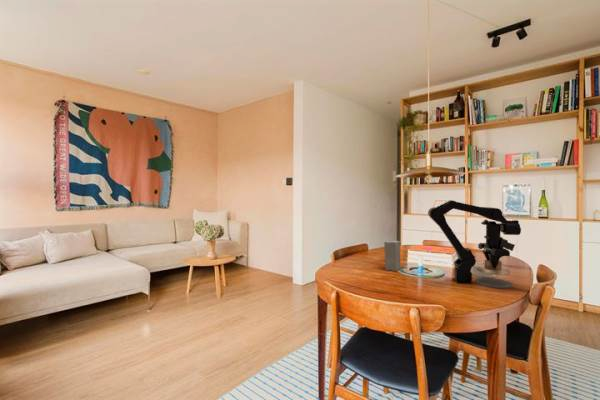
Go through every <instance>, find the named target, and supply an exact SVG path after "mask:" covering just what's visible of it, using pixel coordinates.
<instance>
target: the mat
mask: <svg viewBox="0 0 600 400" xmlns="http://www.w3.org/2000/svg"><path fill="white" fill-rule="evenodd" d="M474 283H475V284H478V285H480V286H484V287H488V288H492V289H493V288H494V289H510V288H511V289H512V287H513V283H512V282H511V281H509V280H506V279H502V278H497V277H480V276H477V277H475V278H474Z"/></svg>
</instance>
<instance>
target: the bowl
mask: <svg viewBox="0 0 600 400" xmlns="http://www.w3.org/2000/svg"><path fill="white" fill-rule="evenodd" d="M481 265H485V261H484V262H482V261H481V262H480V261H479V262H477V261H476V263H475V265H474V266H473V267H472V268H471V273H472V276H477V277H491V278H496V277H498V275H494V274H487V273H483V272H480V271H478V270H477V267H478V266H481Z"/></svg>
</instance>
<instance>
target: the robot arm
mask: <svg viewBox="0 0 600 400" xmlns="http://www.w3.org/2000/svg"><path fill="white" fill-rule="evenodd" d="M451 210H457V211H462V212H467V213H471V214H475V215H478V216H481V217H483V218H484V220H482V222H481V225H483V226H485V235H484V236H483V238H484V239H485V242H479V243H478V244H477V247H478V249H479V250H481V252H482V253H483V256H484V257H485V260H490V261H491V264H492V267H493V268H496V267H497V264H498V262H499V261H500V259H501V258H503V257H511V256H510V255H511V252H512V251H514V248H515V246H516V244H513V243H511V242H508V239H505V238H504V237H502V236H501V233H502V234H503V235H507V236H519V235H520V234H521V232H522V228H521V225H520V223H519V220H518V219H512V220H507V219H506V218H505V216H504V214H503V211H502V209H500V208H497V207H489V206H478V205H471V204H470V203H469V204H468V203H465V202H464V203H463V202H460V201H456V200H450V199H449V200H447V201H446V202H445V203H442V204H440V205H438V206H436V207H435V206H433V207H430V209H428V210H427V211H428V212H427V214H428V215H427V216H428V217H429V218H430V219H431V220H432V221H433V222H434V223H435V224H436V225H437V226H438V227H439V228H440V230H441V231H442V233H443V234H444V235H445V237H446V239H447V240H448V241H449V243H450V244H451V246H452V247H453V248H454V251H455V254H456V257H457V259H456V260H454V261H453V264H454V266H455V267H454V277H453V280H454V281H455V282H456V283H457V284H458V283H459V284H473V282H472V281H473V274H472V273H471V268H472V267H473V266H474V265H475V263H476V262H477V260H476V256H475V255H474V253H473V251H472V249H470V248H468V247H464V246H463V244H462V243H461V242H460V240H459V238H458V237H457V235H456V234H455V232H454V231H453V229H452V228H451V227H450V225H449V224H448V222H447V219H446V216H445V214H446V215H447V213H449V212H450V211H451ZM485 218H486V219H485ZM497 222H498V223H497Z"/></svg>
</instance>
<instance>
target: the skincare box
mask: <svg viewBox="0 0 600 400" xmlns="http://www.w3.org/2000/svg"><path fill="white" fill-rule="evenodd" d="M400 243H401V241H400V240H386V241H384V243H383V244H384V265H385V266H384V269H385V271H386V270H387V271H393V272H397V271H399V270H400V269H401V268H402V265H401V263H402V262H401V244H400Z"/></svg>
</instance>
